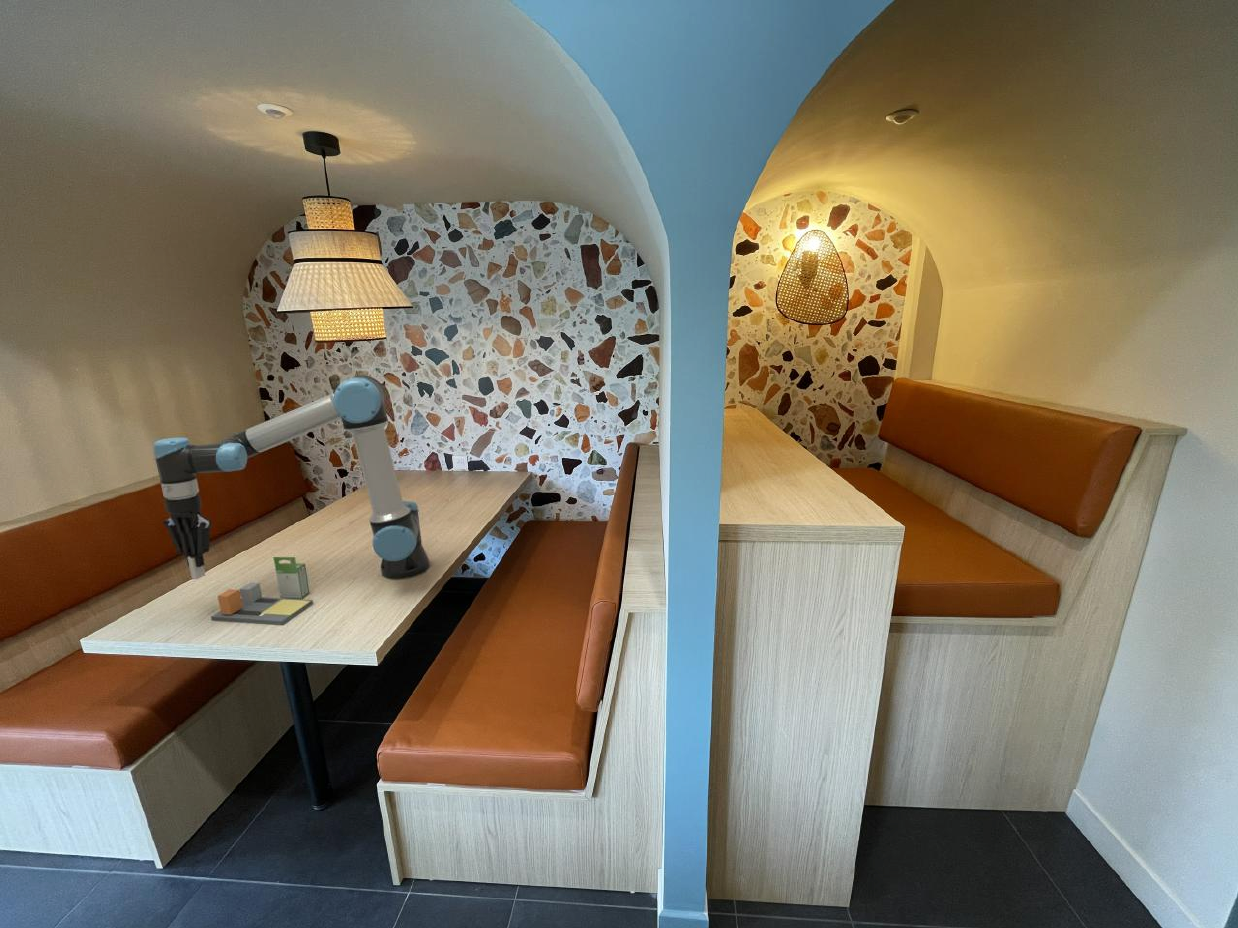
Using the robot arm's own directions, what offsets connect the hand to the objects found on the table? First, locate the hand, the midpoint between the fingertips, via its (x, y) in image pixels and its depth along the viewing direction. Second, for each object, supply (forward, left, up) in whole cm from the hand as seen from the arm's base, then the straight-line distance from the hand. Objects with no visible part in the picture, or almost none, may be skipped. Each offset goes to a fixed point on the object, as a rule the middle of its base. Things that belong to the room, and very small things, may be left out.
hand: (198, 576), depth 151 cm
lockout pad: (-4, +22, -10) cm, 24 cm away
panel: (-3, +15, -12) cm, 19 cm away
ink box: (-13, +17, -12) cm, 25 cm away
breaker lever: (0, +8, -10) cm, 13 cm away
